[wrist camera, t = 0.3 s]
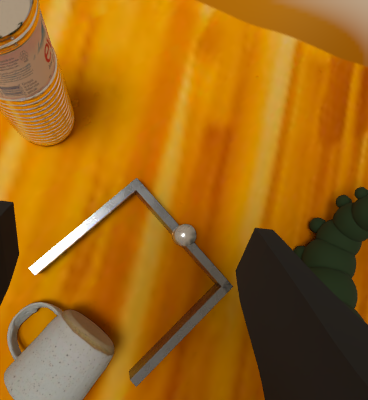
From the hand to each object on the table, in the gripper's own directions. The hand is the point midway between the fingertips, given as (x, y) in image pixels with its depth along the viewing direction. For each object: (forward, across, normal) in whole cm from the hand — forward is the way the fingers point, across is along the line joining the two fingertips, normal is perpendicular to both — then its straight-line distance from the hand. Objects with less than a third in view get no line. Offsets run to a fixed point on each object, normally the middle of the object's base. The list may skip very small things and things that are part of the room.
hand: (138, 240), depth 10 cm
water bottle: (+31, +10, +12) cm, 35 cm away
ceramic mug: (+13, +5, +30) cm, 33 cm away
